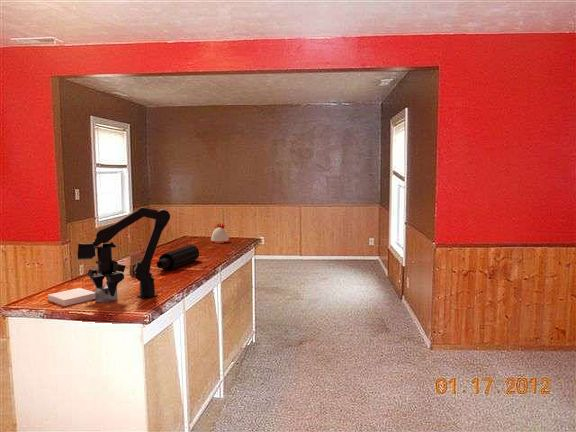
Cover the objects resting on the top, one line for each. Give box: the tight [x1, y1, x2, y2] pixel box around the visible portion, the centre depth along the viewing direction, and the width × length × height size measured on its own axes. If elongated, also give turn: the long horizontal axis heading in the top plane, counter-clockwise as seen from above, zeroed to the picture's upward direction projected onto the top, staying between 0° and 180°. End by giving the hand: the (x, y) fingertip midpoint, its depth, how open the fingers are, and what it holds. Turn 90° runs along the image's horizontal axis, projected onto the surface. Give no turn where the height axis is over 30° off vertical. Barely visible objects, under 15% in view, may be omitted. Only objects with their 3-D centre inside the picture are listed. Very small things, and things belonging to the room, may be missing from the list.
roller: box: [156, 244, 200, 272], centre depth 260 cm, size 38×10×10 cm, turn 165°
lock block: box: [94, 284, 118, 304], centre depth 191 cm, size 5×7×6 cm
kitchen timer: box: [210, 222, 230, 242], centre depth 350 cm, size 14×14×15 cm
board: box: [47, 287, 96, 307], centre depth 192 cm, size 14×14×2 cm
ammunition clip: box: [129, 249, 143, 276], centre depth 243 cm, size 11×2×12 cm, turn 169°
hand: (106, 294), depth 191 cm, fingers open, 9 cm apart
